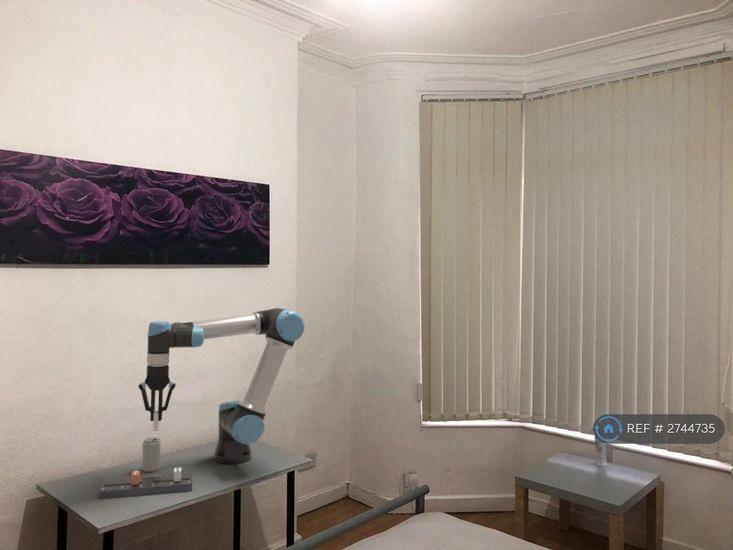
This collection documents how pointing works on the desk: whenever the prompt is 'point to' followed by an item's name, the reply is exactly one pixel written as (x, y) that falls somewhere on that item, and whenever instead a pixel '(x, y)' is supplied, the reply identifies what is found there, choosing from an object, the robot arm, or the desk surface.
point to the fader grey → (177, 474)
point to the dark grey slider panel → (145, 486)
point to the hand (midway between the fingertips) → (155, 429)
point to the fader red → (135, 477)
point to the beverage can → (151, 454)
